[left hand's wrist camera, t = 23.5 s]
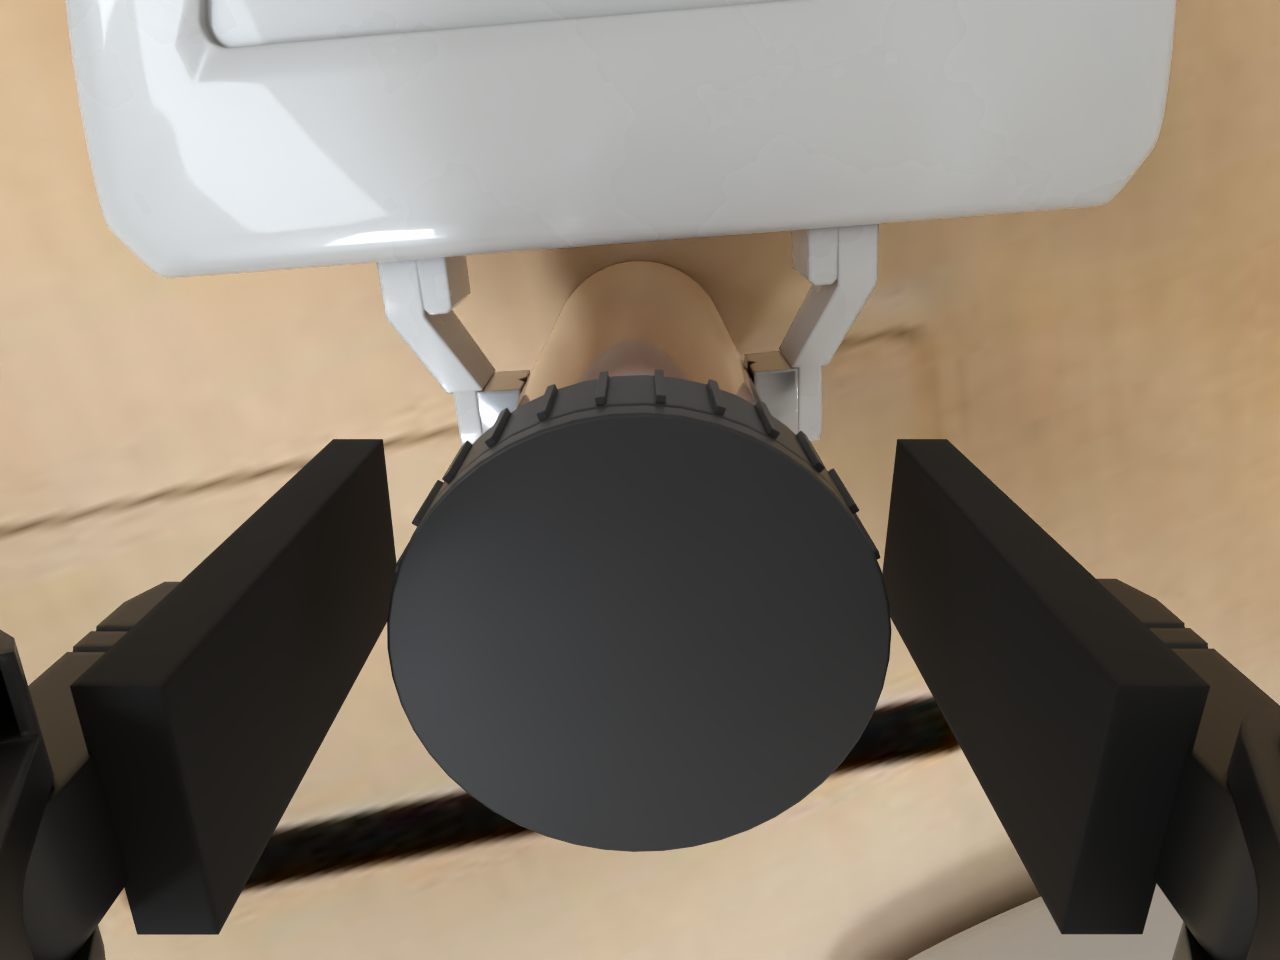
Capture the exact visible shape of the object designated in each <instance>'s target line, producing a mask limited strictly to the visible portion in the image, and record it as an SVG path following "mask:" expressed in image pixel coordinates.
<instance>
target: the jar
mask: <svg viewBox="0 0 1280 960" xmlns="http://www.w3.org/2000/svg"><path fill="white" fill-rule="evenodd" d="M655 370H663V371H664V377H674V378H680V379H685V380H689V381H694V382H698V383H703V384H707V383H708V380H709V379H711V380H714V381H717V383H718V386H719V389H721V390H724V391H726V392H729V393H732V394H735V395H737V396H739V397H741V398H743V399H744V400H746V401H748V402H750V403H752V404H754V405H756V403H757V401H758V400H760V401H762V400H761V398H760V395H759V393H758V391H757V389H756V387H755V385H754V383H753V381H752V379H751V377H750V375H749V373H748V371H747V369H746V367H745V365H744V363H743V361H742V359H741V357H740V355H739V353H738V351H737V349H736V347H735V345H734V343H733V341H732V339H731V337H730V334H729V332H728V330H727V328H726V326H725V324H724V322H723V320H722V318H721V316H720V314H719V312H718V310H717V308H716V306H715V305H714V303H713V301H712V299H711V298H710V297H709V295H708V294H707V293H706V292H705V290H704V289H703V288H702V287H701V286H700V285H699V284H698V283H697V282H696V281H694V280H693V279H692V278H690V277H689V276H688V275H686V274H684V273H683V272H681V271H679V270H677V269H675V268H673V267H670V266H667V265H664V264H660V263H656V262H649V261H630V262H623V263H619V264H615V265H612V266H609V267H607V268H604V269H602V270H600V271H598V272H596V273H595V274H593V275H592V276H590V277H589V278H587V279H586V280H585V281H584V282H583V283H581V284H580V285H579V286H578V287H577V288H576V290H575V291H574V292H573V293H572V294H571V296H570V297H569V299H568V300H567V301H566V303H565V305H564V307H563V309H562V311H561V313H560V315H559V317H558V319H557V321H556V323H555V325H554V327H553V329H552V331H551V333H550V335H549V337H548V339H547V341H546V343H545V345H544V347H543V349H542V351H541V353H540V355H539V357H538V359H537V361H536V363H535V365H534V367H533V369H532V371H531V374H530V376H529V378H528V380H527V382H526V384H525V386H524V388H523V390H522V392H521V394H520V396H519V398H518V400H517V402H516V404H515V406H514V408H513V410H512V412H513V411H514V410H516V409H517V408H519V407H521V406H522V405H524V404H525V403H527V402H529V401H532V400H534V399H536V398H538V397H540V396H543V395H544V394H545V391H546V388H547V386H550V385H553V384H555V385H556V387H557V389H560V388H563V387H566V386H570V385H573V384H576V383H579V382H583V381H588V380H594V379H599V373H600V372H604V371H608V372H609V377H612V376H630V375H652V376H654V372H655Z"/></svg>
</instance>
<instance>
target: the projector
mask: <svg viewBox="0 0 1280 960" xmlns="http://www.w3.org/2000/svg"><path fill="white" fill-rule="evenodd" d="M1182 924H1183V920H1182V919H1181V917H1180V916H1179V914H1178V913H1177V912H1176V910H1175V909H1174V907H1173V906H1172V905H1171V903H1170V902H1169V900H1168V899H1167V897H1166V896H1165V895H1164V893H1163V892H1162V890H1161V889H1160V888H1159V886H1158V885H1157V883H1156V887H1155V891H1154V894H1153V898H1152V902H1151V905H1150V909H1149V913H1148V916H1147V920H1146V924H1145V927H1144V931H1143V934H1061V932H1060V931H1059V929H1058V927H1057V925H1056V923H1055V921H1054V919H1053V918H1052V916H1051V914H1050V912H1049V910H1048V908H1047V906H1046V905H1045V903H1044V901H1043V899H1042V897H1038V898H1036V899H1034V900H1031V901H1029V902H1027V903H1024V904H1022V905H1020V906H1017V907H1015V908H1013V909H1010V910H1008V911H1006V912H1003V913H1001V914H999V915H997V916H994V917H992V918H990V919H988V920H986V921H984V922H981V923H979V924H977V925H975V926H973V927H971V928H969V929H967V930H964V931H962V932H960V933H958V934H956V935H954V936H952V937H950V938H948V939H946V940H944V941H942V942H940V943H938V944H936V945H934V946H932V947H930V948H928V949H926V950H924V951H922V952H920V953H919V954H917V955H915V956H913V957H912V958H910V959H908V960H1172V958H1173V955H1174V951H1175V948H1176V944H1177V941H1178V937H1179V934H1180V931H1181V927H1182Z"/></svg>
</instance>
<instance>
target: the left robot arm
mask: <svg viewBox="0 0 1280 960" xmlns="http://www.w3.org/2000/svg"><path fill="white" fill-rule="evenodd" d="M395 566H396V555H395V546H394V537H393V528H392V519H391V510H390V501H389V492H388V483H387V474H386V464H385V455H384V446H383V439H333V440H332V441H331V442H330V443H329V444H328V445H327V446H326V447H325V448H324V449H322V450H321V451H320V452H319V453H318V454H317V455H316V456H315V457H314V458H313V459H312V460H311V461H310V462H309V463H307V464H306V465H305V466H304V467H303V468H302V469H301V470H300V471H299V472H298V473H297V474H296V475H295V476H294V477H293V478H291V479H290V480H289V481H288V482H287V483H286V484H285V485H284V486H283V487H282V488H281V489H280V490H279V491H278V492H276V493H275V494H274V495H273V496H272V497H271V498H270V499H269V500H268V501H267V502H266V503H265V504H264V505H263V506H262V507H260V508H259V509H258V510H257V511H256V512H255V513H254V514H253V515H252V516H251V517H250V518H249V519H248V520H247V521H245V522H244V523H243V524H242V525H241V526H240V527H239V528H238V529H237V530H236V531H235V532H234V533H233V534H232V535H231V536H229V537H228V538H227V539H226V540H225V541H224V542H223V543H222V544H221V545H220V546H219V547H218V548H217V549H216V550H214V551H213V552H212V553H211V554H210V555H209V556H208V557H207V558H206V559H205V560H204V561H203V562H202V563H201V564H199V565H198V566H197V567H196V568H195V569H194V570H193V571H192V572H191V573H190V574H189V575H188V576H187V577H186V578H185V579H183V580H182V581H181V582H163V583H162V584H160V585H158V586H156V587H154V588H152V589H150V590H148V591H146V592H144V593H142V594H140V595H138V596H136V597H134V598H132V599H130V600H128V601H126V602H124V603H123V604H122V605H121V606H120V607H118V608H117V609H116V610H115V611H114V612H113V613H112V614H110V615H109V616H108V617H107V618H106V619H105V620H103V621H102V622H101V623H100V624H99V625H98V626H97V629H96V631H91V632H90V633H89V634H87V635H86V636H85V637H84V638H83V639H82V640H81V641H79V642H78V643H77V644H76V645H75V646H74V647H73V652H67V653H66V654H65V655H63V656H62V657H61V658H60V659H59V660H58V661H56V662H55V663H54V664H53V665H52V666H51V667H50V668H48V669H47V670H46V671H45V672H44V673H43V674H42V675H40V676H39V677H38V678H37V679H36V680H35V681H34V682H32V683H31V684H30V685H29V686H28V684H27V681H26V678H25V674H24V671H23V667H22V664H21V660H20V657H19V654H18V650H17V647H16V643H15V640H14V638H13V637H11V636H10V635H8V634H6V633H5V632H3V631H2V630H0V960H106V959H105V951H104V944H103V941H102V937H101V934H100V931H99V927H98V924H99V922H100V921H101V919H102V918H103V917H104V915H105V914H106V912H107V911H108V909H109V908H110V907H111V905H112V904H113V902H114V901H115V899H116V898H117V897H118V895H119V894H120V892H121V891H122V890H123V888H124V887H125V891H126V894H127V898H128V902H129V905H130V909H131V913H132V916H133V920H134V924H135V927H136V931H137V934H219V932H220V931H221V929H222V927H223V925H224V923H225V921H226V920H227V918H228V916H229V914H230V912H231V910H232V908H233V907H234V905H235V903H236V901H237V899H238V897H239V895H240V894H241V892H242V890H243V888H244V886H245V884H246V882H247V881H248V879H249V877H250V875H251V873H252V871H253V869H254V868H255V866H256V864H257V862H258V860H259V858H260V856H261V855H262V853H263V851H264V849H265V847H266V845H267V843H268V842H269V840H270V838H271V836H272V834H273V832H274V830H275V829H276V827H277V825H278V823H279V821H280V819H281V817H282V816H283V814H284V812H285V810H286V808H287V806H288V805H289V803H290V801H291V799H292V797H293V795H294V793H295V792H296V790H297V788H298V786H299V784H300V782H301V780H302V779H303V777H304V775H305V773H306V771H307V769H308V767H309V766H310V764H311V762H312V760H313V758H314V756H315V754H316V753H317V751H318V749H319V747H320V745H321V743H322V741H323V740H324V738H325V736H326V734H327V732H328V730H329V728H330V727H331V725H332V723H333V721H334V719H335V717H336V715H337V714H338V712H339V710H340V708H341V706H342V704H343V702H344V701H345V699H346V697H347V695H348V693H349V691H350V690H351V688H352V686H353V684H354V682H355V680H356V678H357V677H358V675H359V673H360V671H361V669H362V667H363V665H364V664H365V662H366V660H367V658H368V656H369V654H370V652H371V651H372V649H373V647H374V645H375V643H376V641H377V639H378V638H379V636H380V634H381V632H382V630H383V628H384V626H385V625H386V623H387V618H388V611H389V604H390V597H391V590H392V587H393V583H394V580H395V577H396V573H397V572H395V571H394V570H395ZM882 575H883V579H884V583H885V587H886V591H887V596H888V600H889V609H890V617H891V619H892V621H893V623H894V625H895V626H896V628H897V630H898V632H899V634H900V636H901V638H902V639H903V641H904V643H905V645H906V647H907V649H908V651H909V652H910V654H911V656H912V658H913V660H914V662H915V663H916V665H917V667H918V669H919V671H920V673H921V675H922V676H923V678H924V680H925V682H926V684H927V686H928V688H929V689H930V691H931V693H932V695H933V697H934V699H935V701H936V702H937V704H938V706H939V708H940V710H941V712H942V714H943V715H944V717H945V719H946V721H947V723H948V725H949V727H950V728H951V730H952V732H953V734H954V736H955V738H956V740H957V741H958V743H959V745H960V747H961V749H962V751H963V753H964V754H965V756H966V758H967V760H968V762H969V764H970V766H971V767H972V769H973V771H974V773H975V775H976V777H977V778H978V780H979V782H980V784H981V786H982V788H983V790H984V791H985V793H986V795H987V797H988V799H989V801H990V803H991V804H992V806H993V808H994V810H995V812H996V814H997V816H998V817H999V819H1000V821H1001V823H1002V825H1003V827H1004V829H1005V830H1006V832H1007V834H1008V836H1009V838H1010V840H1011V842H1012V843H1013V845H1014V847H1015V849H1016V851H1017V853H1018V855H1019V856H1020V858H1021V860H1022V862H1023V864H1024V866H1025V868H1026V869H1027V871H1028V873H1029V875H1030V877H1031V879H1032V881H1033V882H1034V884H1035V886H1036V888H1037V890H1038V892H1039V894H1040V895H1041V897H1042V899H1043V901H1044V903H1045V905H1046V906H1047V908H1048V910H1049V912H1050V914H1051V916H1052V918H1053V919H1054V921H1055V923H1056V925H1057V927H1058V929H1059V931H1060V932H1061V934H1143V931H1144V927H1145V924H1146V920H1147V916H1148V913H1149V909H1150V905H1151V902H1152V898H1153V894H1154V891H1155V887H1156V883H1157V885H1158V886H1159V888H1160V889H1161V890H1162V892H1163V893H1164V895H1165V896H1166V897H1167V899H1168V900H1169V902H1170V903H1171V905H1172V906H1173V907H1174V909H1175V910H1176V912H1177V913H1178V914H1179V916H1180V917H1181V919H1182V920H1183V924H1182V927H1181V931H1180V934H1179V937H1178V941H1177V944H1176V948H1175V951H1174V955H1173V958H1172V960H1280V706H1279V705H1278V704H1277V703H1276V702H1275V701H1274V700H1272V699H1271V698H1270V697H1269V696H1268V695H1267V694H1266V693H1264V692H1263V691H1262V690H1261V689H1260V688H1259V687H1257V686H1256V685H1255V684H1254V683H1253V682H1252V681H1250V680H1249V679H1248V678H1247V677H1246V676H1245V675H1244V674H1242V673H1241V672H1240V671H1239V670H1238V669H1237V668H1235V667H1234V666H1233V665H1232V664H1231V663H1230V662H1229V661H1227V660H1226V659H1225V658H1224V657H1223V656H1222V655H1220V654H1219V653H1218V652H1217V651H1216V650H1215V649H1208V643H1207V642H1205V641H1204V640H1203V639H1202V638H1201V637H1200V636H1198V635H1197V634H1196V633H1195V632H1194V631H1193V630H1192V629H1190V628H1185V627H1184V623H1183V622H1182V621H1181V620H1180V619H1179V618H1178V617H1176V616H1175V615H1174V614H1173V613H1172V612H1171V611H1170V610H1168V609H1167V608H1166V607H1165V606H1164V605H1163V604H1161V603H1160V602H1159V601H1158V600H1157V599H1155V598H1153V597H1151V596H1149V595H1147V594H1145V593H1143V592H1141V591H1139V590H1137V589H1135V588H1133V587H1131V586H1129V585H1127V584H1125V583H1123V582H1121V581H1119V580H1117V579H1095V578H1094V577H1093V576H1092V575H1091V574H1090V573H1089V572H1088V571H1087V570H1086V569H1085V568H1084V567H1083V566H1082V565H1081V564H1079V563H1078V562H1077V561H1076V560H1075V559H1074V558H1073V557H1072V556H1071V555H1070V554H1069V553H1068V552H1067V551H1066V550H1064V549H1063V548H1062V547H1061V546H1060V545H1059V544H1058V543H1057V542H1056V541H1055V540H1054V539H1053V538H1052V537H1051V536H1050V535H1048V534H1047V533H1046V532H1045V531H1044V530H1043V529H1042V528H1041V527H1040V526H1039V525H1038V524H1037V523H1036V522H1035V521H1033V520H1032V519H1031V518H1030V517H1029V516H1028V515H1027V514H1026V513H1025V512H1024V511H1023V510H1022V509H1021V508H1020V507H1019V506H1017V505H1016V504H1015V503H1014V502H1013V501H1012V500H1011V499H1010V498H1009V497H1008V496H1007V495H1006V494H1005V493H1004V492H1002V491H1001V490H1000V489H999V488H998V487H997V486H996V485H995V484H994V483H993V482H992V481H991V480H990V479H989V478H988V477H986V476H985V475H984V474H983V473H982V472H981V471H980V470H979V469H978V468H977V467H976V466H975V465H974V464H973V463H971V462H970V461H969V460H968V459H967V458H966V457H965V456H964V455H963V454H962V453H961V452H960V451H959V450H958V449H956V448H955V447H954V446H953V445H952V444H951V443H950V442H949V441H948V440H947V439H897V446H896V456H895V465H894V474H893V483H892V492H891V501H890V510H889V519H888V528H887V537H886V546H885V556H884V565H883V574H882Z"/></svg>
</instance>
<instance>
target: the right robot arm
mask: <svg viewBox="0 0 1280 960" xmlns="http://www.w3.org/2000/svg"><path fill="white" fill-rule="evenodd" d="M65 3H66V12H67V21H68V30H69V38H70V46H71V54H72V62H73V69H74V75H75V81H76V87H77V94H78V100H79V106H80V112H81V118H82V123H83V129H84V134H85V139H86V145H87V150H88V155H89V159H90V164H91V169H92V173H93V178H94V183H95V187H96V192H97V195H98V199H99V203H100V206H101V210H102V213H103V216H104V218H105V221H106V223H107V226H108V227H109V229H110V230H111V232H112V233H113V234H114V235H115V236H116V237H117V238H118V239H119V240H120V241H121V242H122V243H123V244H124V245H125V246H126V247H127V248H128V249H129V250H130V251H131V252H132V253H133V254H134V255H135V256H136V257H138V258H139V259H140V260H141V261H142V262H143V263H144V264H145V265H146V266H148V267H149V268H150V269H151V270H152V271H153V272H155V273H156V274H158V275H160V276H162V277H166V278H182V277H196V276H209V275H222V274H235V273H248V272H261V271H274V270H287V269H300V268H313V267H326V266H339V265H351V264H364V263H377V266H378V272H379V278H380V283H381V289H382V295H383V300H384V306H385V312H386V317H387V320H388V321H389V322H390V323H391V325H392V326H393V327H394V328H395V330H396V331H397V332H398V333H399V335H400V336H401V337H402V338H403V339H404V341H405V342H406V343H407V344H408V346H409V347H410V348H411V349H412V350H413V352H414V353H415V354H416V355H417V357H418V358H419V359H420V360H421V362H422V363H423V364H424V365H425V366H426V368H427V369H428V370H429V371H430V373H431V374H432V375H433V376H434V377H435V379H436V380H437V381H438V382H439V384H440V385H441V386H442V387H443V389H444V390H445V391H446V392H447V393H453V395H454V402H455V408H456V414H457V421H458V427H459V433H460V439H461V446H462V445H463V444H464V443H465V442H466V441H467V440H468V441H469V442H470V443H471V444H473V443H474V442H475V441H476V440H477V439H478V438H479V437H480V436H481V435H482V434H484V433H485V432H486V431H487V430H488V429H489V428H491V427H492V426H493V425H494V423H495V421H496V419H497V417H498V415H499V414H500V412H501V411H502V410H504V409H505V408H508V409H509V411H510V412H512V410H513V408H514V406H515V404H516V402H517V400H518V398H519V396H520V394H521V392H522V390H523V388H524V386H525V384H526V382H527V380H528V378H529V376H530V370H523V371H503V372H495V369H494V367H493V366H492V365H491V363H490V362H489V361H488V359H487V358H486V356H485V355H484V354H483V352H482V351H481V349H480V348H479V347H478V345H477V344H476V342H475V341H474V340H473V338H472V337H471V335H470V334H469V333H468V331H467V330H466V329H465V327H464V326H463V324H462V323H461V322H460V320H459V319H458V317H457V316H456V315H455V313H454V312H453V310H452V309H453V308H454V307H456V306H457V305H458V304H459V303H460V302H461V301H463V300H464V299H465V298H466V297H467V296H468V295H469V294H470V286H469V278H468V270H467V263H466V256H468V255H481V254H494V253H507V252H520V251H533V250H546V249H559V248H572V247H584V246H597V245H610V244H623V243H636V242H649V241H662V240H675V239H688V238H701V237H714V236H727V235H740V234H753V233H766V232H779V231H792V264H793V269H794V270H795V271H796V272H797V273H799V274H800V275H801V276H803V277H804V278H806V279H807V280H808V281H810V282H811V283H812V284H813V285H812V286H811V288H810V290H809V292H808V294H807V296H806V298H805V300H804V302H803V304H802V306H801V308H800V309H799V311H798V313H797V315H796V317H795V319H794V321H793V323H792V325H791V327H790V329H789V331H788V332H787V334H786V336H785V338H784V340H783V342H782V344H781V346H780V348H779V350H780V351H774V352H764V353H753V354H744V355H745V367H746V369H747V371H748V373H749V375H750V377H751V379H752V381H753V383H754V385H755V387H756V389H757V391H758V393H759V395H760V398H761V400H762V402H764V403H765V404H766V406H767V408H768V410H769V412H770V414H771V415H772V416H773V417H775V418H776V419H777V420H779V421H780V422H782V423H783V424H785V425H786V426H787V427H788V428H789V429H790V430H791V431H792V432H794V433H795V434H798V433H799V432H800V431H802V432H803V433H805V434H806V435H807V437H808V439H809V441H810V442H811V441H819V439H820V437H821V431H822V366H826V365H828V364H829V362H830V361H831V359H832V357H833V356H834V354H835V352H836V351H837V349H838V347H839V346H840V344H841V342H842V341H843V339H844V337H845V336H846V334H847V332H848V330H849V329H850V327H851V325H852V324H853V322H854V320H855V319H856V317H857V315H858V314H859V312H860V310H861V309H862V307H863V305H864V304H865V302H866V300H867V298H868V297H869V295H870V293H871V292H872V290H873V288H874V287H875V285H876V283H877V259H878V224H882V223H895V222H908V221H921V220H934V219H947V218H960V217H973V216H986V215H999V214H1012V213H1025V212H1038V211H1050V210H1063V209H1075V208H1088V207H1098V206H1101V205H1104V204H1107V203H1108V202H1110V201H1111V200H1112V199H1114V197H1115V196H1116V195H1117V194H1118V193H1119V192H1120V191H1121V190H1122V189H1123V188H1124V187H1125V185H1126V184H1127V183H1128V182H1129V180H1130V179H1131V178H1132V176H1133V175H1134V174H1135V173H1136V171H1137V170H1138V169H1139V167H1140V166H1141V165H1142V164H1143V162H1144V161H1145V160H1146V158H1147V157H1148V156H1149V155H1150V153H1151V152H1152V150H1153V149H1154V147H1155V145H1156V143H1157V141H1158V138H1159V135H1160V131H1161V127H1162V123H1163V120H1164V114H1165V108H1166V101H1167V94H1168V87H1169V79H1170V70H1171V61H1172V51H1173V41H1174V31H1175V18H1176V5H1177V0H65Z"/></svg>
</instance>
